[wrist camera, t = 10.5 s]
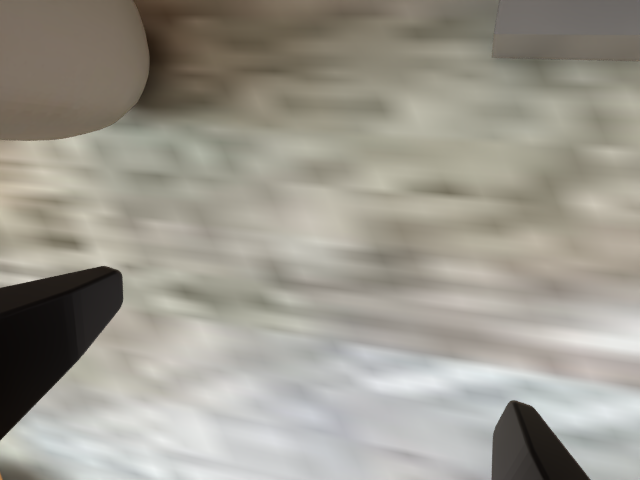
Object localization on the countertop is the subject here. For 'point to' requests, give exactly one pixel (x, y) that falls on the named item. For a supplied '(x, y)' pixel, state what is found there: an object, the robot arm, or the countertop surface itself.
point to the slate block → (568, 29)
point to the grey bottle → (68, 66)
